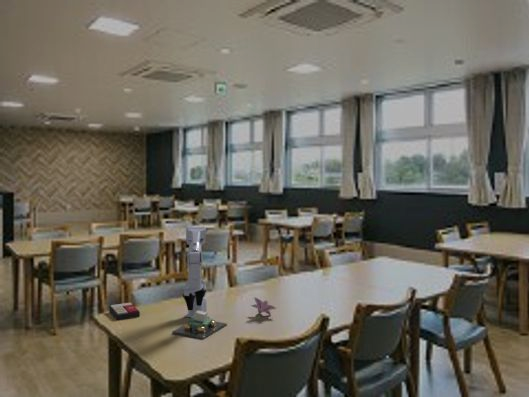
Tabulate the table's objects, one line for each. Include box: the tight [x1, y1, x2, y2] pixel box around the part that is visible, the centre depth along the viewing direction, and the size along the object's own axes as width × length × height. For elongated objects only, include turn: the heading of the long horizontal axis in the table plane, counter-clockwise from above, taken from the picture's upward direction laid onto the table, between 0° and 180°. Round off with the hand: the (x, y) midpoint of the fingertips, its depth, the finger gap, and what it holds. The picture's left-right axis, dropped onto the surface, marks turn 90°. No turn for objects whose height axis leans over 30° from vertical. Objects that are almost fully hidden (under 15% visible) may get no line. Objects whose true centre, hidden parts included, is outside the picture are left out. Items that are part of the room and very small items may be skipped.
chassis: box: [171, 318, 228, 340], centre depth 203 cm, size 20×16×4 cm
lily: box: [250, 296, 277, 318], centre depth 222 cm, size 12×12×10 cm
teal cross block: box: [187, 310, 213, 327], centre depth 203 cm, size 11×9×4 cm
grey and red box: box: [108, 302, 141, 321], centre depth 224 cm, size 11×4×15 cm
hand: (194, 307), depth 204 cm, fingers open, 7 cm apart
